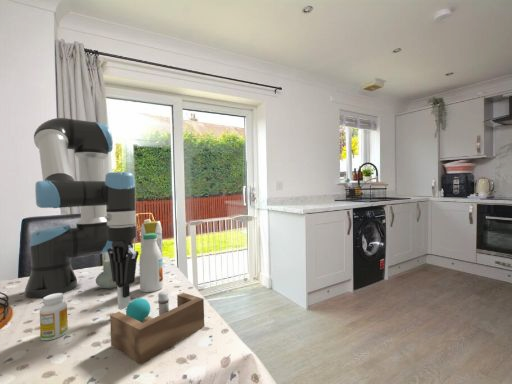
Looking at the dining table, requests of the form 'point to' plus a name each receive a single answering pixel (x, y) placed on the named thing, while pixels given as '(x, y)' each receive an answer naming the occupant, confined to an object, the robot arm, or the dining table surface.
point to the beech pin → (147, 319)
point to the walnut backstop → (156, 329)
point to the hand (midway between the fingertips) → (124, 307)
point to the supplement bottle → (53, 317)
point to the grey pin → (163, 302)
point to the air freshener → (106, 276)
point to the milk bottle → (150, 265)
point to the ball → (138, 309)
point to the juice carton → (152, 228)
